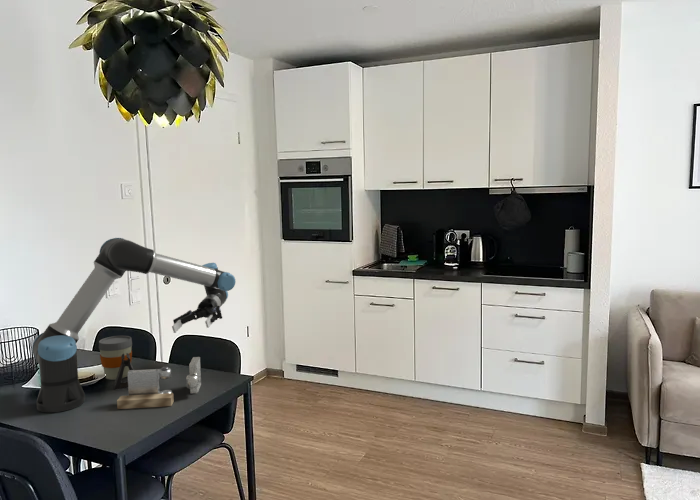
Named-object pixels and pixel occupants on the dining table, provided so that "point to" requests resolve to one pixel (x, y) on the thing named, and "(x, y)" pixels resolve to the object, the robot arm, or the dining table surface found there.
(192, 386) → the loose hinge leaf
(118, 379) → the dark forked stand
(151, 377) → the fixed steel leaf
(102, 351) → the reusable coffee cup
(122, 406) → the oak sill
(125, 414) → the dining table surface
